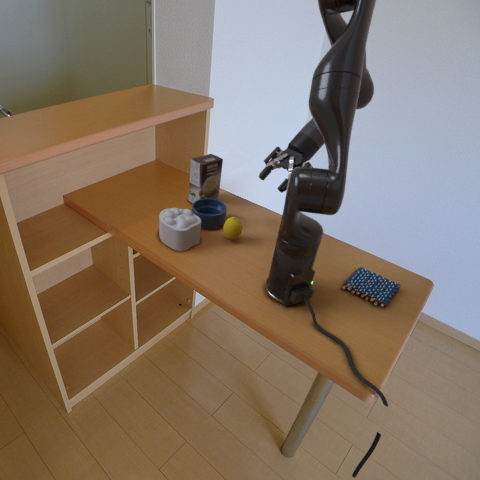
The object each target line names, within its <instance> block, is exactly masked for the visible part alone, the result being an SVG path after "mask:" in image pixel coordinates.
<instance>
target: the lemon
mask: <svg viewBox="0 0 480 480" xmlns="http://www.w3.org/2000/svg"><path fill="white" fill-rule="evenodd" d="M222 232H223V235H224V236H225V238H227V239H228V240H230V241H233V240H236V239H238V238H239V237H241V235H242V232H243V223H242V221H241V220H240V219H239V218H238V217H236V216H232V217H229V218H227V219H225V223H224V224H223V228H222Z"/></svg>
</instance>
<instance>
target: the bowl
mask: <svg viewBox="0 0 480 480" xmlns="http://www.w3.org/2000/svg"><path fill="white" fill-rule="evenodd" d="M227 209H228V207H227V205H226V203H224V202H223V201H221V200H219V199H218V200H216V199H210V198H206V199H199V200H197V201H195V202H194V203H192V205H191V211H192V213H193V214H195V215H196V216H198V217H199V218H200V219H201V229H207V230H210V229H211V230H213V229H219V228H221V227H222V226H224V224H225V222H226V220H227V219H226V218H227Z"/></svg>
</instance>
